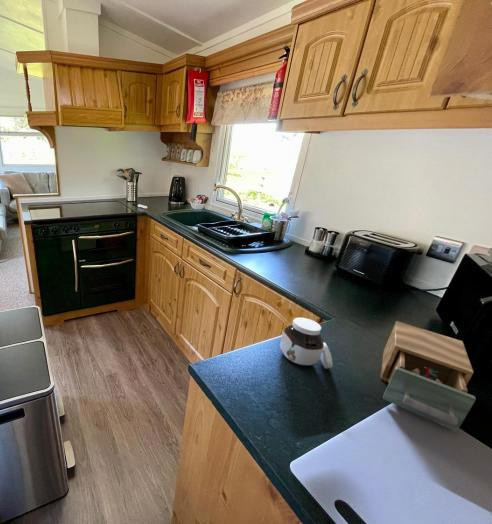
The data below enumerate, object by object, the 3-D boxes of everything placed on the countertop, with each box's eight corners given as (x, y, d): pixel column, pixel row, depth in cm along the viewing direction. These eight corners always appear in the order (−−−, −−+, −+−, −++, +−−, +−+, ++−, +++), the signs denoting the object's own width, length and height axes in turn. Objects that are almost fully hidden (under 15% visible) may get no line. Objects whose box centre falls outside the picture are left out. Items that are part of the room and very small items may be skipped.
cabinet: (453, 408, 68) (473, 372, 65) (380, 379, 77) (395, 345, 73) (445, 373, 81) (462, 341, 77) (383, 351, 89) (396, 320, 85)
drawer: (461, 452, 57) (482, 418, 54) (381, 414, 64) (395, 383, 61) (448, 391, 73) (464, 362, 69) (385, 367, 80) (397, 340, 77)
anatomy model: (452, 365, 66) (452, 383, 69) (405, 354, 72) (407, 372, 75) (449, 383, 64) (449, 401, 67) (401, 371, 70) (403, 388, 73)
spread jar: (273, 349, 86) (282, 315, 82) (305, 345, 89) (315, 312, 85) (303, 377, 75) (315, 340, 71) (338, 372, 78) (351, 336, 74)
